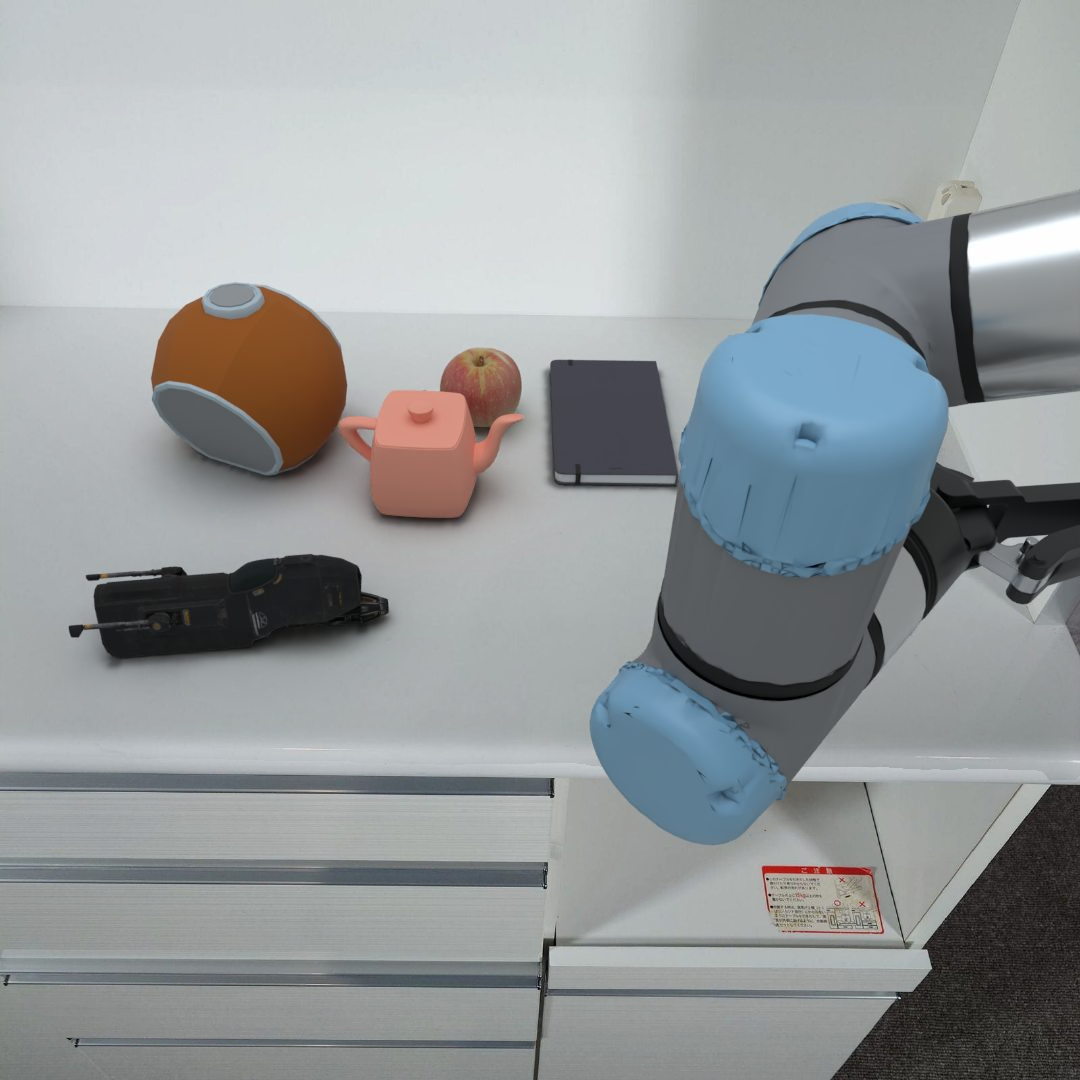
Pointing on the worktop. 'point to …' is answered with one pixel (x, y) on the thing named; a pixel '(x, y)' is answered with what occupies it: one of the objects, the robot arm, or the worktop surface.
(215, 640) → the black toy vehicle
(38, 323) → the worktop surface
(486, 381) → the apple
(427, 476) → the teapot
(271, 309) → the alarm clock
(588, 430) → the notebook
